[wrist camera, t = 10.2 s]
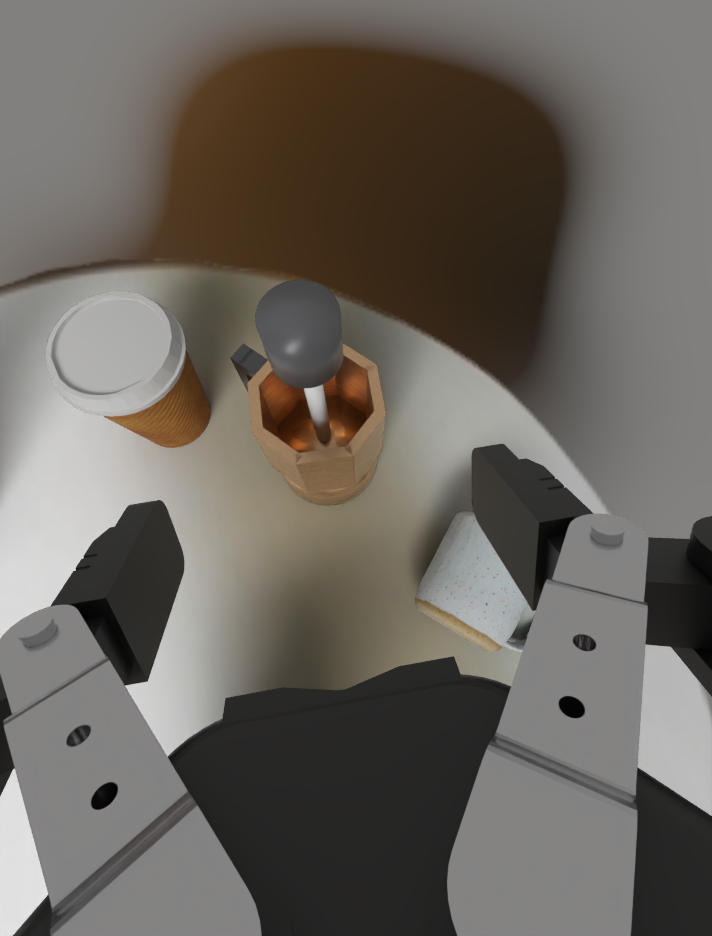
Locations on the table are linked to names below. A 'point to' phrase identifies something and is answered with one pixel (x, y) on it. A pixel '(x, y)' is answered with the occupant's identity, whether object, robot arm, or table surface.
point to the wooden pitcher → (292, 432)
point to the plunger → (303, 341)
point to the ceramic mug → (472, 588)
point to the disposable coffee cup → (128, 367)
